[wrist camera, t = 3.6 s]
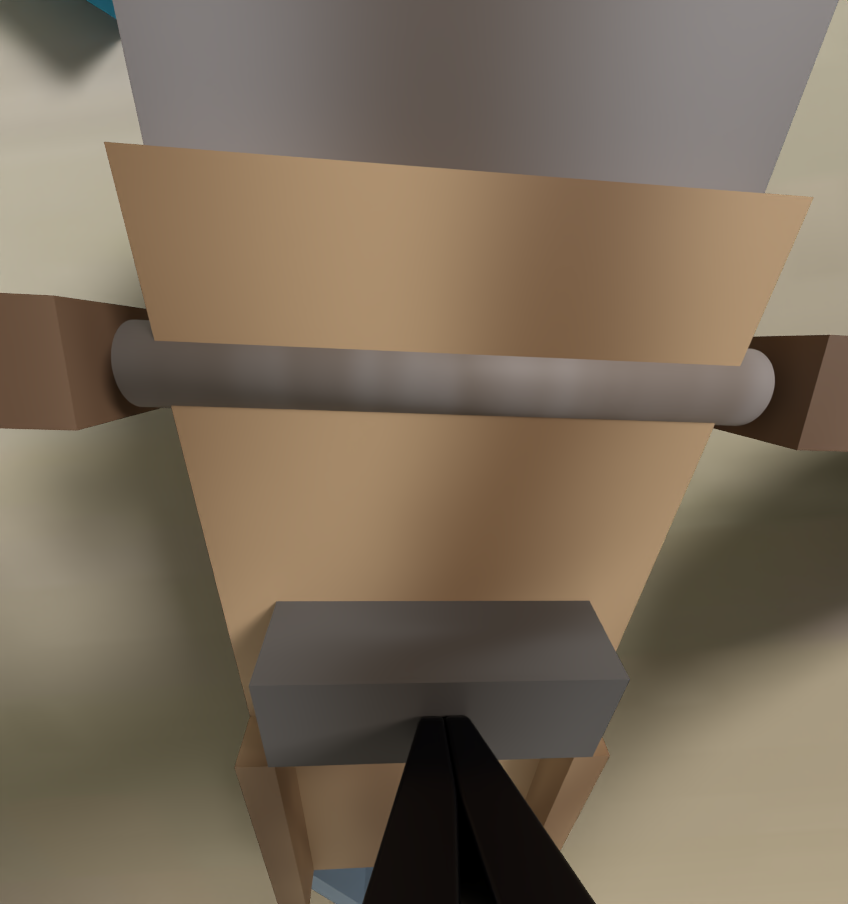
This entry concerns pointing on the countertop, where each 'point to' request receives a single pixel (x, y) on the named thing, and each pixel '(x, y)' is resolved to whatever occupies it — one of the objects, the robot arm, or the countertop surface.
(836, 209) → the countertop surface
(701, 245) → the tipping lever
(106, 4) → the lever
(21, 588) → the countertop surface
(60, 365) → the lever stand
